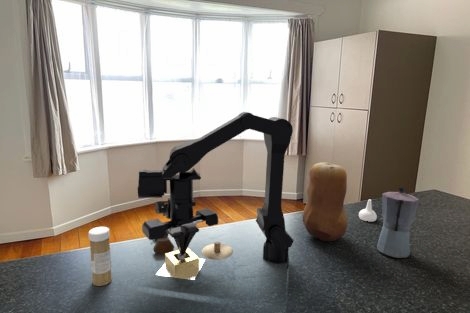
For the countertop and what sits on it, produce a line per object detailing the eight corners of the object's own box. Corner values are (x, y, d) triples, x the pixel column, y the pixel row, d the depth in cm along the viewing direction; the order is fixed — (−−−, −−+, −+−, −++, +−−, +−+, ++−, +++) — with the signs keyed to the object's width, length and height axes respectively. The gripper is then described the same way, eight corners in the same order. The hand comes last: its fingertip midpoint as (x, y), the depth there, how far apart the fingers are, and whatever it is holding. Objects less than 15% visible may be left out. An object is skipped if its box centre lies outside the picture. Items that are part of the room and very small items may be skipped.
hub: (205, 262, 85) (205, 247, 84) (194, 283, 75) (194, 266, 74) (171, 258, 87) (171, 243, 86) (155, 278, 77) (155, 261, 76)
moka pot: (409, 245, 97) (418, 184, 93) (414, 269, 84) (424, 198, 80) (376, 238, 101) (383, 179, 97) (375, 260, 88) (383, 193, 84)
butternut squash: (344, 232, 105) (351, 160, 101) (346, 251, 93) (354, 170, 88) (302, 227, 109) (307, 157, 104) (299, 244, 96) (305, 166, 92)
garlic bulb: (359, 222, 116) (362, 203, 113) (357, 215, 122) (359, 196, 119) (377, 224, 114) (380, 204, 112) (374, 216, 120) (376, 197, 118)
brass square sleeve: (199, 268, 80) (199, 257, 79) (175, 276, 76) (175, 265, 76) (188, 257, 85) (187, 247, 85) (165, 264, 82) (164, 253, 81)
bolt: (161, 240, 102) (167, 261, 88) (147, 234, 100) (151, 255, 86) (169, 224, 102) (177, 243, 88) (156, 218, 100) (161, 237, 86)
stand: (235, 248, 93) (235, 237, 92) (229, 264, 84) (229, 252, 83) (206, 245, 94) (206, 234, 94) (197, 260, 86) (197, 248, 85)
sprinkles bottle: (94, 277, 77) (90, 226, 74) (113, 275, 78) (110, 225, 75) (90, 288, 73) (86, 235, 70) (111, 285, 74) (108, 233, 71)
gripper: (199, 183, 89) (199, 234, 92) (134, 193, 78) (136, 250, 81) (220, 193, 80) (219, 249, 83) (149, 206, 69) (150, 269, 72)
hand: (182, 253), depth 80 cm, fingers closed
